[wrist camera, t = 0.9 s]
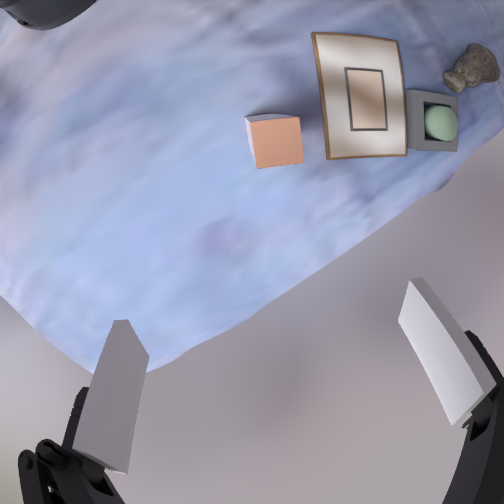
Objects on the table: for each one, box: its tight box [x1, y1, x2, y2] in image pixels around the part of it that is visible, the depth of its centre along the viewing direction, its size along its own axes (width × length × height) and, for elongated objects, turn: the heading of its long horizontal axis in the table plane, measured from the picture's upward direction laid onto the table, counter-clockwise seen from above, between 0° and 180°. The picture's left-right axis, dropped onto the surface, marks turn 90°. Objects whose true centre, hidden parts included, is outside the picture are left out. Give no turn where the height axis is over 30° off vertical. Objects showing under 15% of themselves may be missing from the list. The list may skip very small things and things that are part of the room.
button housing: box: [405, 90, 458, 152], centre depth 23 cm, size 7×7×2 cm
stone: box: [443, 43, 500, 93], centre depth 18 cm, size 10×6×8 cm
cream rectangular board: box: [311, 32, 407, 160], centre depth 23 cm, size 14×10×1 cm
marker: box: [244, 113, 304, 169], centre depth 20 cm, size 3×3×12 cm
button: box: [424, 105, 458, 141], centre depth 22 cm, size 4×4×3 cm
